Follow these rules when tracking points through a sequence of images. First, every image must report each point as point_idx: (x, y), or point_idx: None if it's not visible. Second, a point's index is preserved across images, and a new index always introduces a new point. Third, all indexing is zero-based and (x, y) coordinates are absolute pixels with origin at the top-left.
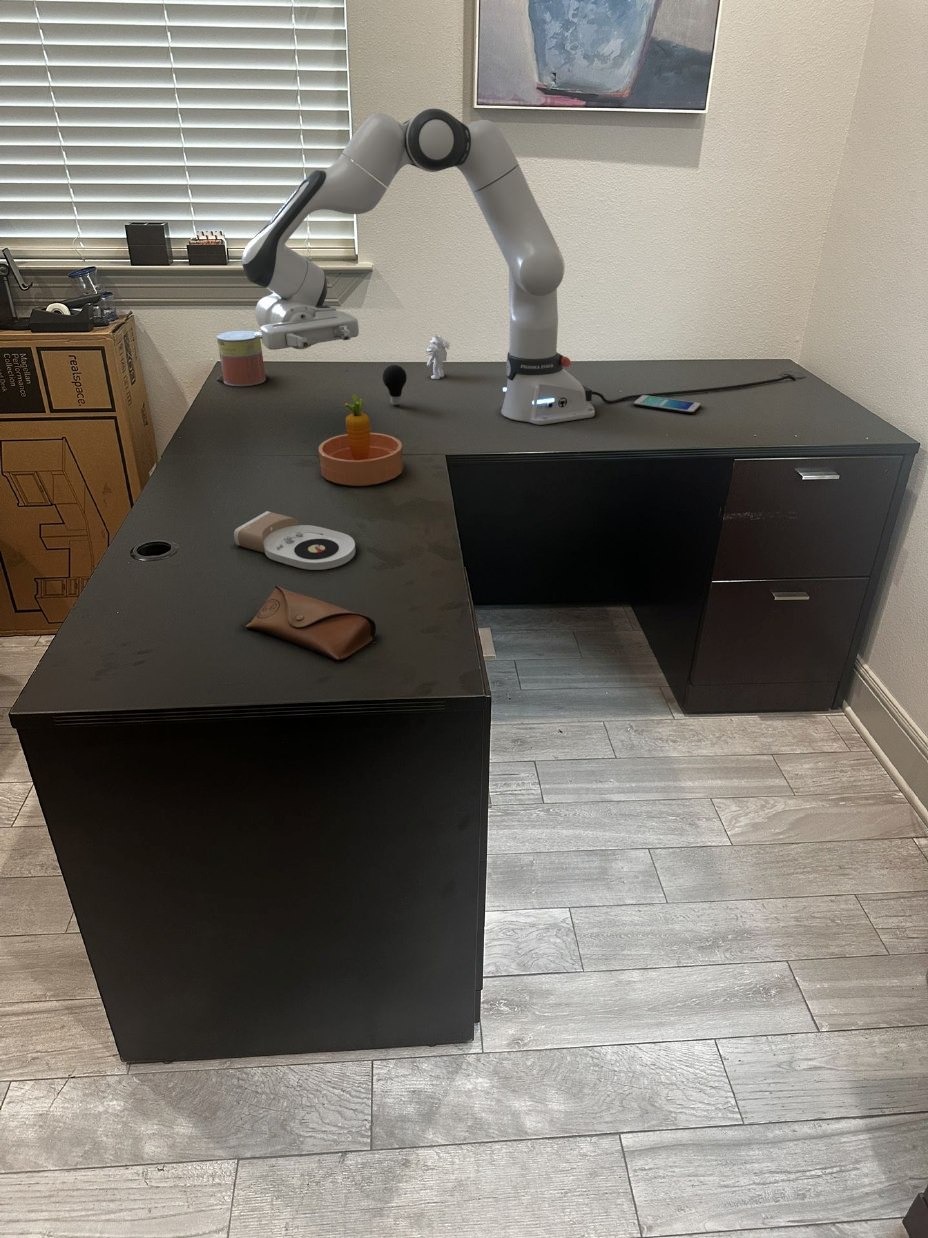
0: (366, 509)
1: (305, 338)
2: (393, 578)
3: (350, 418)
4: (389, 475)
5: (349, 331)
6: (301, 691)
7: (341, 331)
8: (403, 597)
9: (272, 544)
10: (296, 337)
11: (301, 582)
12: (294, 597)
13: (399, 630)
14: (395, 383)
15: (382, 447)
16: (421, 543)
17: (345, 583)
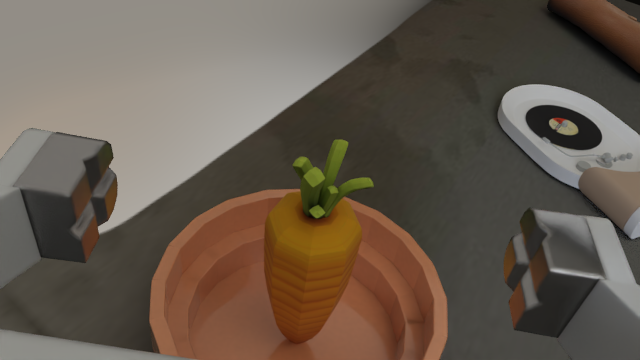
0: (411, 185)
1: (544, 211)
2: (480, 50)
3: (351, 213)
4: None
5: (38, 130)
6: (633, 8)
7: (87, 175)
8: (487, 28)
9: (637, 169)
10: (633, 288)
11: (601, 98)
12: (637, 26)
13: (518, 7)
14: None
15: (177, 340)
16: (396, 73)
17: (543, 71)
